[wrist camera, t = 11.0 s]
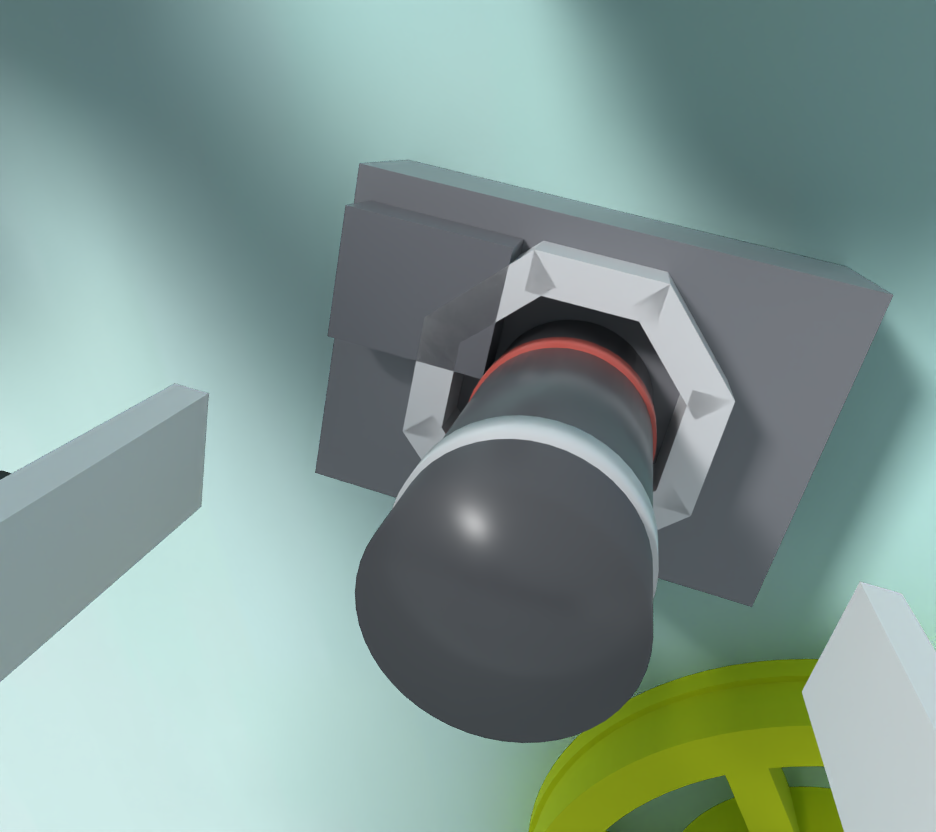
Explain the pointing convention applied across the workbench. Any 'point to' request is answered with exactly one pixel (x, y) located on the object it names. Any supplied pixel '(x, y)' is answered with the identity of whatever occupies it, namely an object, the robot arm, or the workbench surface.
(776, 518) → the plate with octagonal ring
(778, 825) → the pulley
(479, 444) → the lens
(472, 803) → the workbench surface
